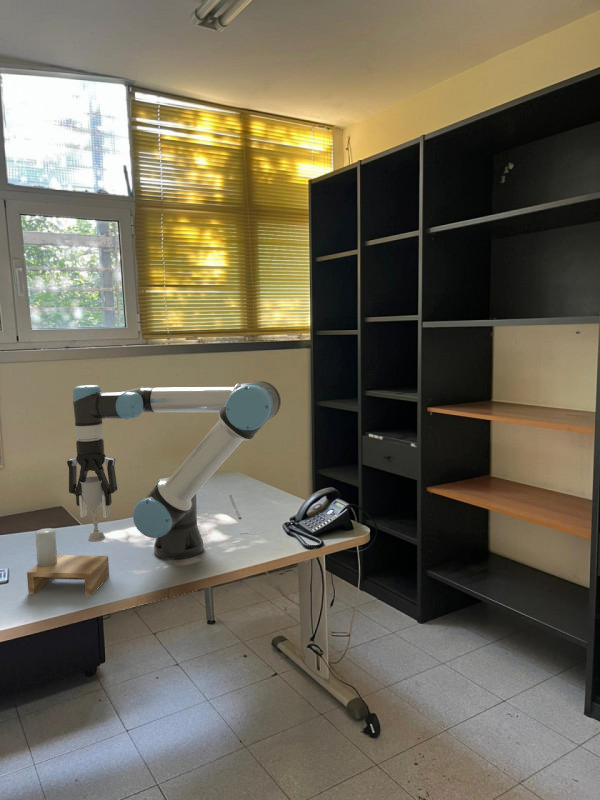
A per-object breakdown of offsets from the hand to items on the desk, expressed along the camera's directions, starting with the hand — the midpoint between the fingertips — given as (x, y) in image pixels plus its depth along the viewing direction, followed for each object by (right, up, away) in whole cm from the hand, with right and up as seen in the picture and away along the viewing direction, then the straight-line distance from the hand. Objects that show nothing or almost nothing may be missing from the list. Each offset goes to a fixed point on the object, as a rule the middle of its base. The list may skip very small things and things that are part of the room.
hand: (95, 516), depth 173 cm
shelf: (-2, -16, -13) cm, 21 cm away
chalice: (0, -7, +1) cm, 7 cm away
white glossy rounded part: (-8, -10, -13) cm, 19 cm away
